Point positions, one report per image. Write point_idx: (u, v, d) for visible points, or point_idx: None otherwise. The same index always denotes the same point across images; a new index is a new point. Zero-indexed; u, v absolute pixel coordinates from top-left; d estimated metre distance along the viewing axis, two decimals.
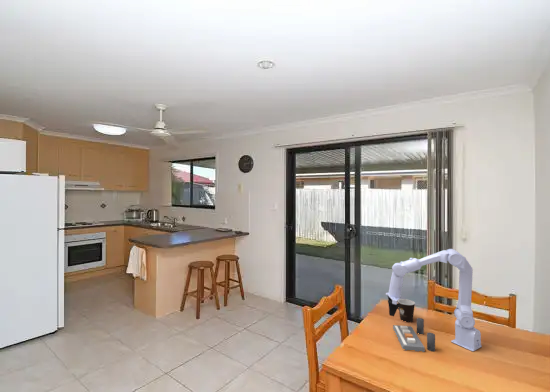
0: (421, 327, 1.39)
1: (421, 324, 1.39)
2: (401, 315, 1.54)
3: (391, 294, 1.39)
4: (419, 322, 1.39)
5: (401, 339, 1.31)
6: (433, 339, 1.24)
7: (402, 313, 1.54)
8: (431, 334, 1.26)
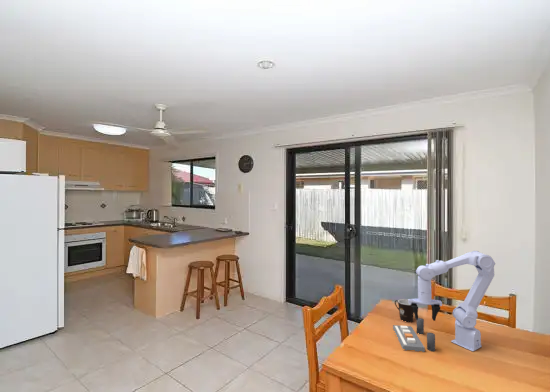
0: (421, 327, 1.39)
1: (421, 324, 1.39)
2: (401, 315, 1.54)
3: None
4: (419, 322, 1.39)
5: (401, 339, 1.31)
6: (433, 339, 1.24)
7: (402, 313, 1.54)
8: (431, 334, 1.26)
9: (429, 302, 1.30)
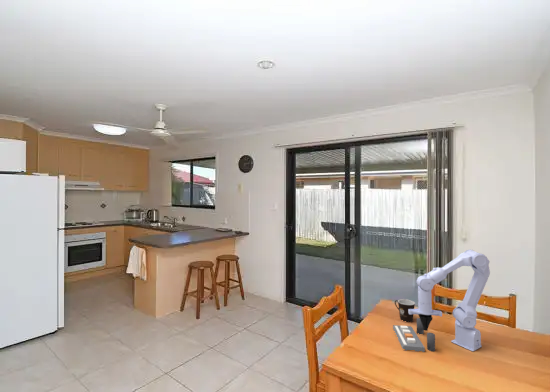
0: (421, 327, 1.39)
1: (421, 324, 1.39)
2: (401, 315, 1.54)
3: None
4: (419, 322, 1.39)
5: (401, 339, 1.31)
6: (433, 339, 1.24)
7: (402, 313, 1.54)
8: (431, 334, 1.26)
9: (429, 313, 1.30)
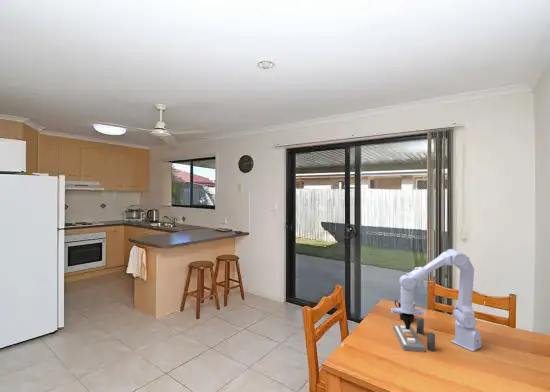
0: (421, 327, 1.39)
1: (421, 324, 1.39)
2: (401, 315, 1.54)
3: None
4: (419, 322, 1.39)
5: (401, 339, 1.31)
6: (433, 339, 1.24)
7: None
8: (431, 334, 1.26)
9: (411, 311, 1.32)
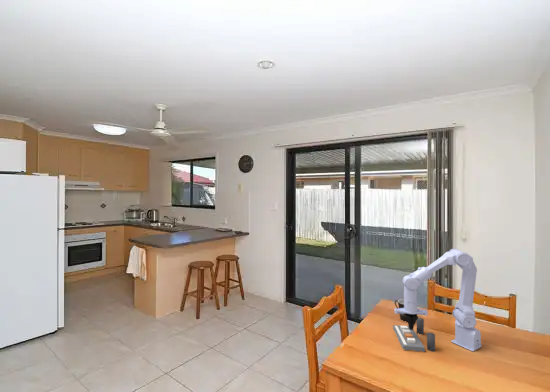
0: (421, 327, 1.39)
1: (421, 324, 1.39)
2: (401, 315, 1.54)
3: None
4: (419, 322, 1.39)
5: (401, 339, 1.31)
6: (433, 339, 1.24)
7: None
8: (431, 334, 1.26)
9: (415, 312, 1.31)
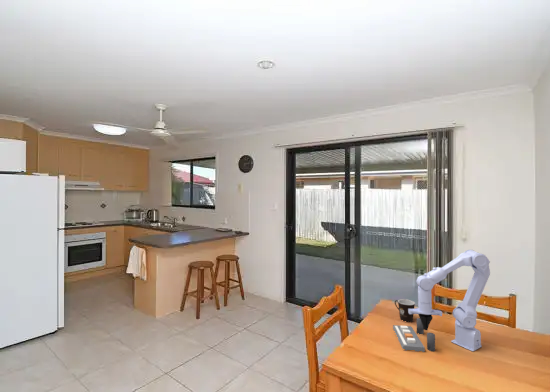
0: (421, 327, 1.39)
1: (421, 324, 1.39)
2: (401, 315, 1.54)
3: None
4: (419, 322, 1.39)
5: (401, 339, 1.31)
6: (433, 339, 1.24)
7: (402, 313, 1.54)
8: (431, 334, 1.26)
9: (429, 312, 1.30)
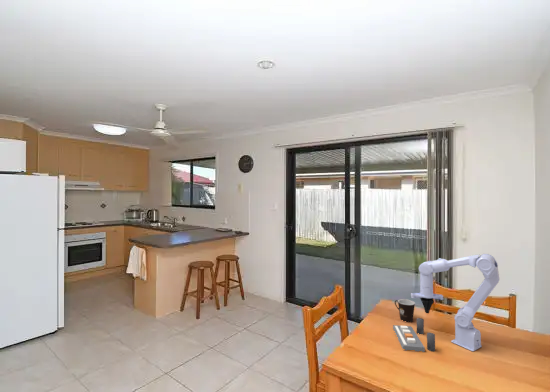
0: (421, 327, 1.39)
1: (421, 324, 1.39)
2: (401, 315, 1.54)
3: None
4: (419, 322, 1.39)
5: (401, 339, 1.31)
6: (433, 339, 1.24)
7: (402, 313, 1.54)
8: (431, 334, 1.26)
9: (431, 296, 1.38)
